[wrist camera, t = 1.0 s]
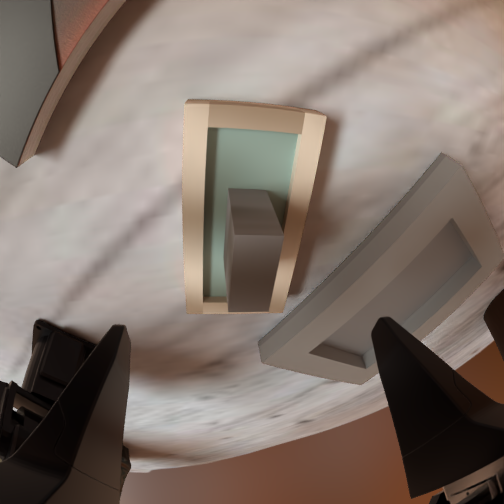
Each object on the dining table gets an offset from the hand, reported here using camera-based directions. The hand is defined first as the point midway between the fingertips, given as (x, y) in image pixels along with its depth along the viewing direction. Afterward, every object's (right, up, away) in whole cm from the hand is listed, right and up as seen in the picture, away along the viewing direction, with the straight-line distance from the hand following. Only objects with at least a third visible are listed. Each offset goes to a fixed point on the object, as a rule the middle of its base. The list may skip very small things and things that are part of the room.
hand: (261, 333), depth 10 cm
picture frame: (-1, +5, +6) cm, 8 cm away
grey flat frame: (+11, 0, +12) cm, 16 cm away
